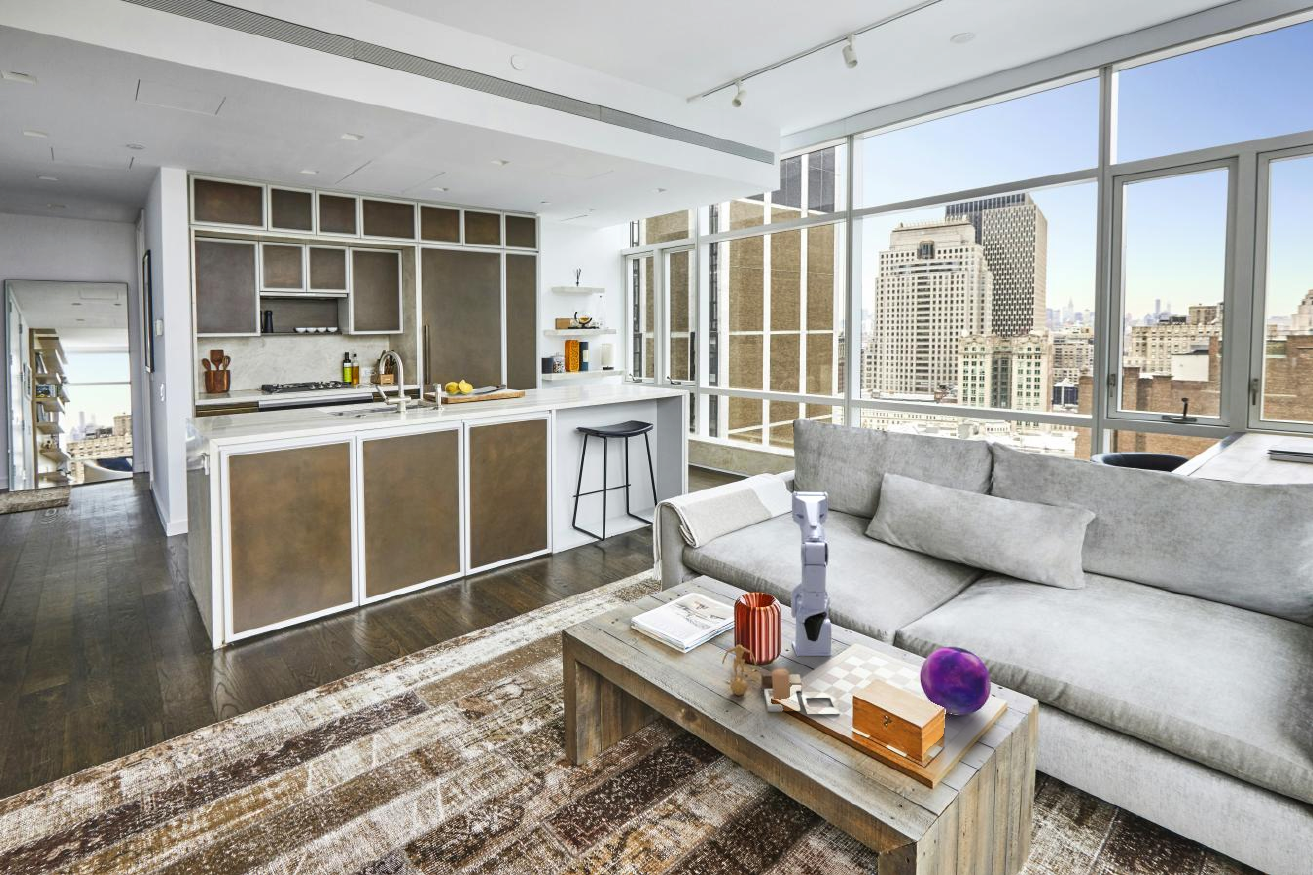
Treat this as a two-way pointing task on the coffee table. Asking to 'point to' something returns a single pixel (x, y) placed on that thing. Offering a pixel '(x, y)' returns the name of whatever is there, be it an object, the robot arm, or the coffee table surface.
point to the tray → (770, 707)
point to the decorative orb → (955, 680)
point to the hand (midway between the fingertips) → (812, 639)
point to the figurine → (738, 683)
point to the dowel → (781, 684)
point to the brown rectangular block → (766, 680)
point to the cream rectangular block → (795, 679)
